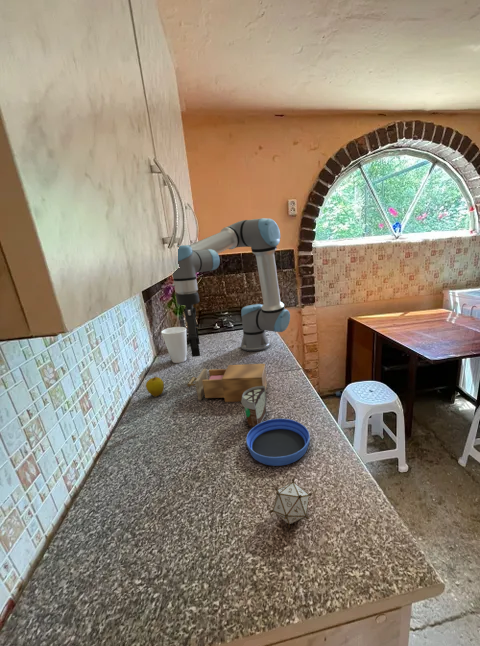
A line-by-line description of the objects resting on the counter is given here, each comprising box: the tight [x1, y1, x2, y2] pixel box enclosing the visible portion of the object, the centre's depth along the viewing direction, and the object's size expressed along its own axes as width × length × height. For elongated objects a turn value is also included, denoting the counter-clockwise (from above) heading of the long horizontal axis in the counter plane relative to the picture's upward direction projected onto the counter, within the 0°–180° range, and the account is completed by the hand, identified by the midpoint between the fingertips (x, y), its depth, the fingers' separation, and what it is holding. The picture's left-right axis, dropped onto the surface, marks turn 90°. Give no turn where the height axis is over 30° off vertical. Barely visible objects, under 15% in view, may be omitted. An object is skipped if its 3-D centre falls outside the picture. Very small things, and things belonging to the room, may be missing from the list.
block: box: [208, 375, 223, 380], centre depth 119 cm, size 5×5×5 cm
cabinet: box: [222, 363, 268, 403], centre depth 119 cm, size 15×13×10 cm
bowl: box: [245, 418, 311, 467], centre depth 89 cm, size 18×18×4 cm
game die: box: [268, 477, 314, 530], centre depth 65 cm, size 9×8×10 cm
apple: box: [145, 376, 165, 398], centre depth 121 cm, size 6×6×8 cm
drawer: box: [186, 368, 227, 401], centre depth 119 cm, size 18×11×8 cm, turn 89°
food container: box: [240, 386, 267, 429], centre depth 101 cm, size 12×6×10 cm, turn 168°
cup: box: [161, 326, 188, 364], centre depth 155 cm, size 12×12×16 cm
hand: (196, 349), depth 115 cm, fingers open, 13 cm apart
